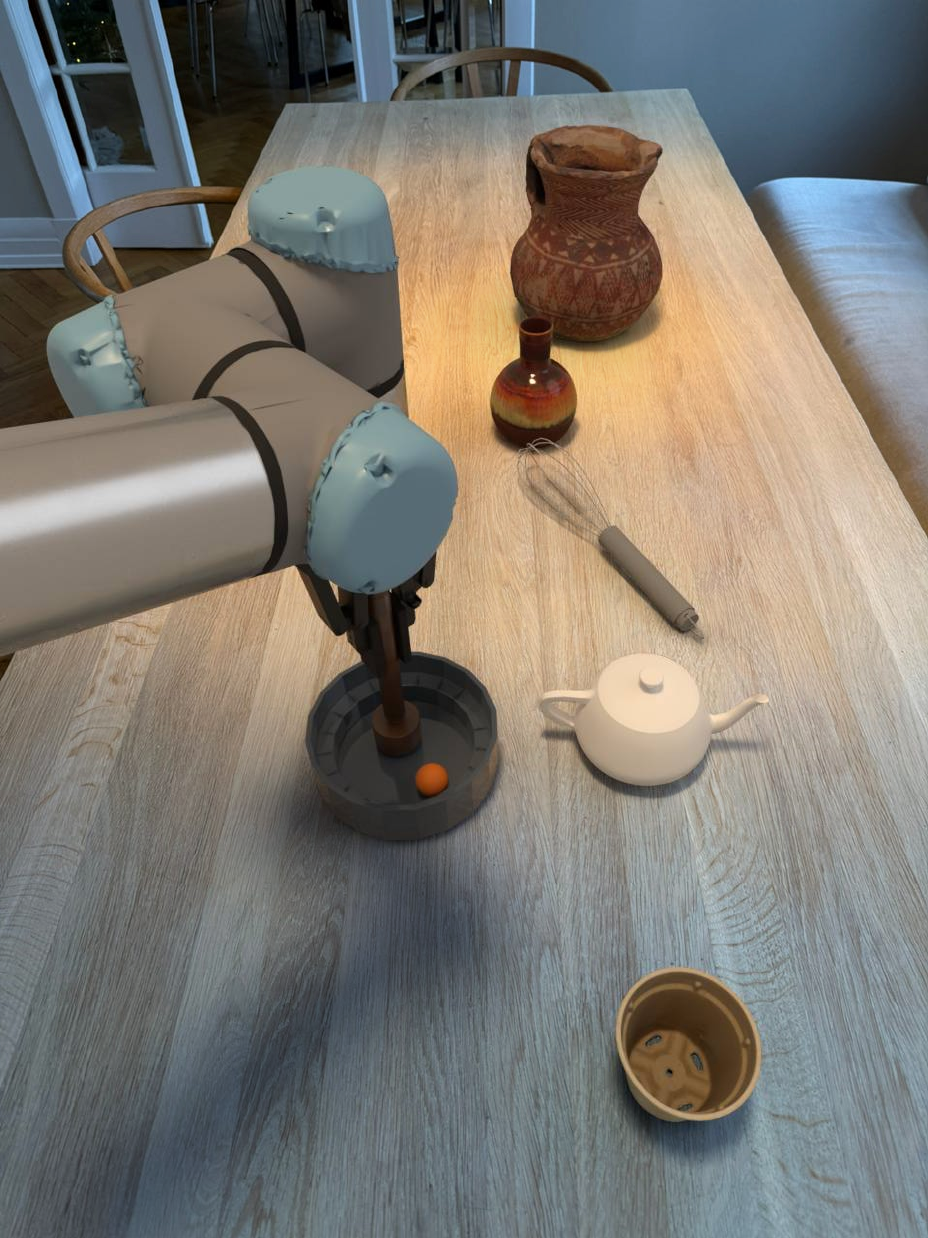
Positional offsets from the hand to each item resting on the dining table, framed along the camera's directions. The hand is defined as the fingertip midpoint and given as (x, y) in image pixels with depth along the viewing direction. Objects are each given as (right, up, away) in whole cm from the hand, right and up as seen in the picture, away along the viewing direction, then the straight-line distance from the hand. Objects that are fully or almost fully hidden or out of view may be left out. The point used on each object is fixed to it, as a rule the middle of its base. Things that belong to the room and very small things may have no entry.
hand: (386, 659), depth 75 cm
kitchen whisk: (+23, +12, +27) cm, 37 cm away
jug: (+25, +49, +60) cm, 82 cm away
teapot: (+24, -8, +9) cm, 27 cm away
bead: (+4, -11, +4) cm, 12 cm away
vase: (+16, +28, +42) cm, 53 cm away
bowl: (+1, -10, +8) cm, 13 cm away
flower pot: (+22, -30, -10) cm, 38 cm away
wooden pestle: (0, -8, +8) cm, 11 cm away
